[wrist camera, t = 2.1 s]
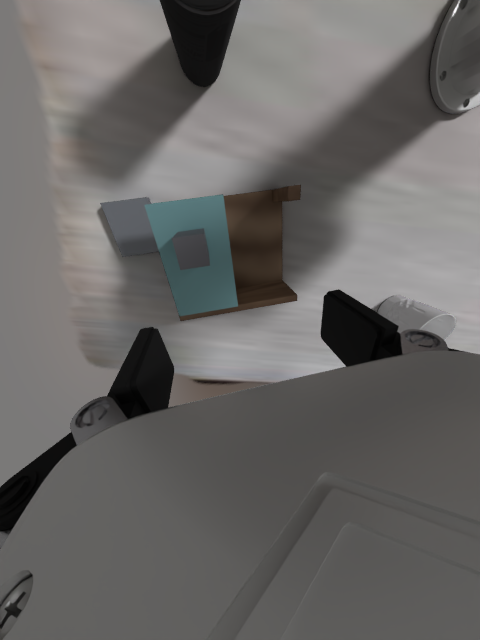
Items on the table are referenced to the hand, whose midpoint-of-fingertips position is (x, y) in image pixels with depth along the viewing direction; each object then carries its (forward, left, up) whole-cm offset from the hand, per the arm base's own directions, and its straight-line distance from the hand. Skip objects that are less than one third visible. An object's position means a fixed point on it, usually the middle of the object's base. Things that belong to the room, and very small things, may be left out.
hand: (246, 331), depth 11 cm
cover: (0, -3, -17) cm, 18 cm away
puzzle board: (0, +1, -25) cm, 25 cm away
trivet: (-5, -12, -25) cm, 28 cm away
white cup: (+18, +36, -25) cm, 48 cm away
